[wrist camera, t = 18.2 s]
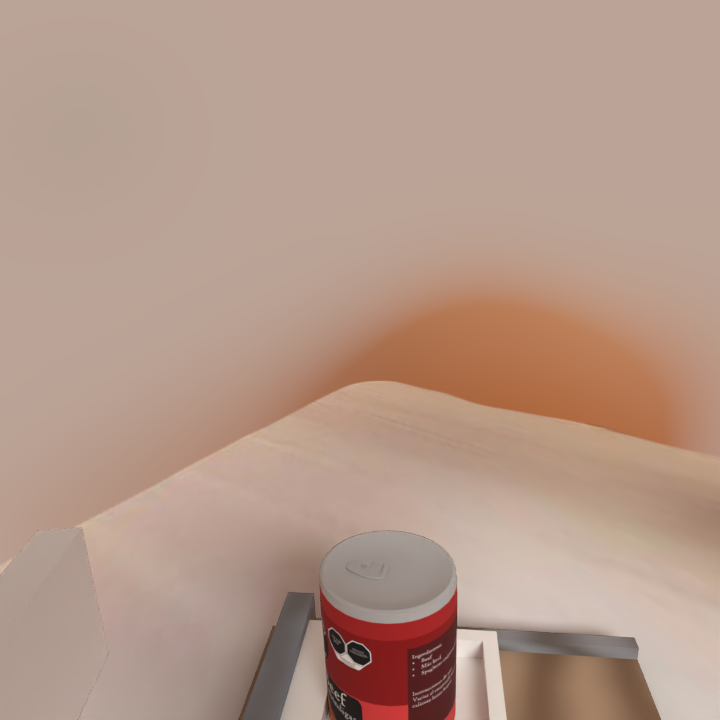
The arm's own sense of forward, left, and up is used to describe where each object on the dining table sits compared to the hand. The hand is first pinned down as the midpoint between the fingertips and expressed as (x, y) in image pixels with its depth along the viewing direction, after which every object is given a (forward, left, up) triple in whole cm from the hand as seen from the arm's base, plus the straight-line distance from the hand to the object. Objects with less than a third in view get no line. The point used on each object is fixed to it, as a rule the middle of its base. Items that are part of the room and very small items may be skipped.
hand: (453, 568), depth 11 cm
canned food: (+3, -20, -26) cm, 33 cm away
